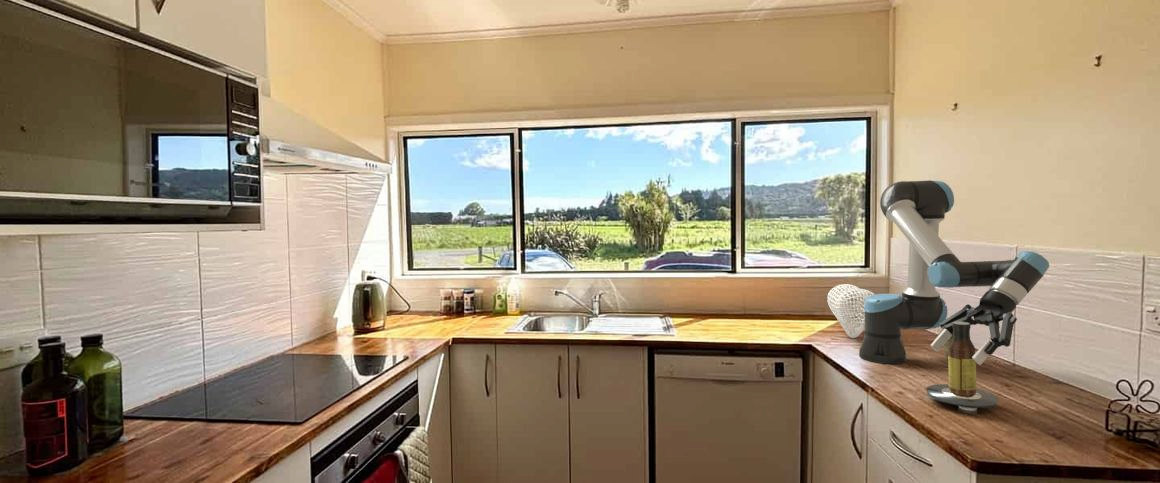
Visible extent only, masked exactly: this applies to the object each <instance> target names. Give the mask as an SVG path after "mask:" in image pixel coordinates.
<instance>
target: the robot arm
mask: <svg viewBox="0 0 1160 483" xmlns="http://www.w3.org/2000/svg"><path fill="white" fill-rule="evenodd" d="M879 204H880V205H879V206H880V210H881V212H882V214H883V216H884V217H885V218H886V219H887V221H889V222H892V223H894V224H895V226H897V228H898V229H899V231H900V232H901V233H902V234H903V236H904V237H905V238H906V239H907V240H908V242H909V246H908V268H907V286H906V288H904V289H902V291H901V292H902V293H901V295H900V294H898V293H876V294H875V295H872V294H871V295H872V296H870V295H869V297H867V298H866V300H865V299H864V301H865V305H864V306H865V307H863V308H864V311H865V315H864V316H865V324H864V325H865V329H864V336H863V338H862V339H863V340H862V342H861V345H860V348H859V351H858V356H859V358H861V359H863V360H865V361H869V362H873V363H879V364H903V363H906V362H907V360H908V358H907V357H908V355H907V352H906V349H905V346H904V343H903V340H902V330H930V329H937V328H941V330H940V332H939V333H938V334H937V335H936V338H935V339H934V340H933V342H932V343H931V344H930V347H931V348H932V349H933V350H934V352H940V351H941V350H942V348H943V347H944V346H946V342H947V341H948V340H949V339H950V338H951V336H952V335H951V333H953V327H952V323H953V322H967V323H970V326H976V325H984V326H986V327H988V328H989V334H990V335H989V336H990V337H989V339H986V340H985V341H984V343H983V344H982V345H981V346H980V347H979V348H978V350H977V351H975V354H974V356H973V357H972V358H973V360H974V361H975V362H976V365H979V366H981V365H982V364H983V363H984V362H985V361H986V359H987V358H988V357H989V356H991V355H993V354H994V352H995V351H997V349H998V348H999V347H1002V346H1003V347H1007V348H1008V347H1009V346H1010V345H1011V341H1012V335H1013V329H1014V325H1015V323H1016V322H1017V320H1018V318H1017V317H1016V316H1015V315H1014V314H1013V312H1014V311H1015V309H1016V308H1017V306H1019V305H1020V303H1021V302H1022V301H1023V300H1024V298H1025V297H1026V296H1027V295H1028V294H1029V293H1030V292H1031V291H1032V289H1033V288H1034V287H1035V286H1036V285H1037V283H1038V282H1040V280H1041V279H1042V278H1044V275H1045V273H1046V272H1047V271H1048V269H1049V268H1050V263H1049V260H1048V259H1047V258H1045V256H1043V255H1041V254H1039V253H1038V252H1035V251H1029V250H1025V251H1024V250H1023V251H1021V252H1019V253H1018V254H1017V255H1016V256H1015V257H1014V259H1007V260H981V261H978V260H977V261H961V260H960V259H959V258H958V257H957V255H955V254H954V252H953V251H952V250H951V249H950V248H949V247H948V245H947V244H946V243H945V241H943V240H942V239H941V238H940V236H939V232H940V231H939V228H940V223H942V221H944V220H945V217H946V213H949V212H950V211H951V210H952V208H953V207H954V205H955V195H954V192H953V190H952V188H951V186H950V185H949V184H948V183H946V182H944V181H942V180H931V179H930V180H911V181H910V180H909V181H907V180H906V181H905V180H901V181H897V182H894V183H891V184H890V185H889V186H887V187H886V188H885V189H884V190H883V191H882V194H881V196H880V200H879ZM936 287H937V288H948V289H951V288H952V289H953V288H965V287H966V288H969V287H970V288H971V287H974V288H975V287H989V288H988V290H987V291H986V292H985V293H984V294H983V295H982V297H981V298H980V299H979V304H978V306H975V307H974V306H972V305H970V304H966V305H965V306H964V307H963V308H962V309H960V310H959V311H957V312H956V313H954V314H952V315H950V316H948V305H947V304H946V301H945V300H944V299H943V298H942V297H941V293H940V292H939V291H938V290H936ZM1000 322H1001V328H1000ZM950 328H951V329H950Z"/></svg>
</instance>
